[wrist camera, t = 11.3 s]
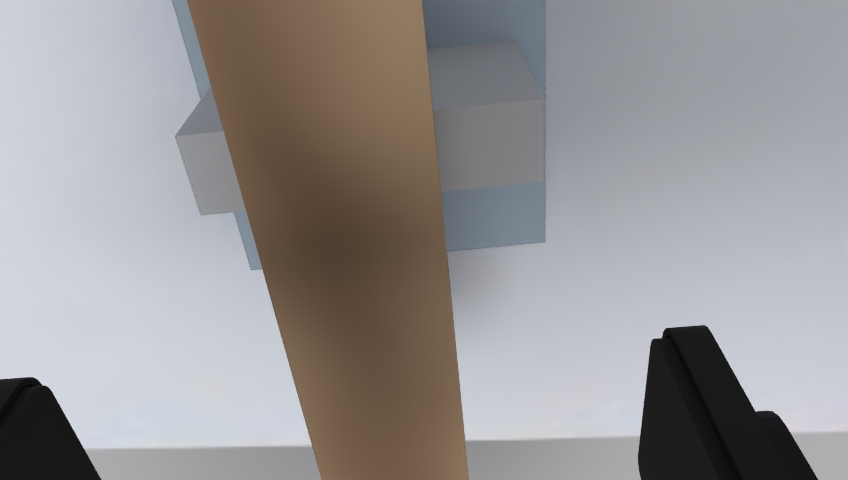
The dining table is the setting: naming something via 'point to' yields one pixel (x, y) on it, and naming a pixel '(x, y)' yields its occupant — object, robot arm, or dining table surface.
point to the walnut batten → (346, 221)
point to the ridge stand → (453, 118)
